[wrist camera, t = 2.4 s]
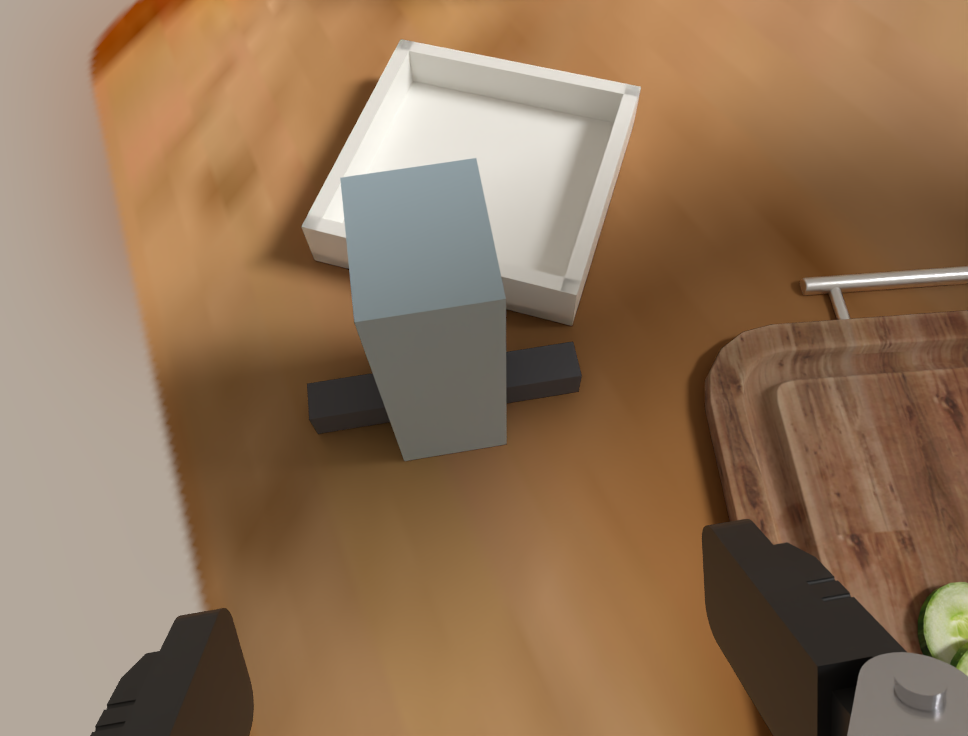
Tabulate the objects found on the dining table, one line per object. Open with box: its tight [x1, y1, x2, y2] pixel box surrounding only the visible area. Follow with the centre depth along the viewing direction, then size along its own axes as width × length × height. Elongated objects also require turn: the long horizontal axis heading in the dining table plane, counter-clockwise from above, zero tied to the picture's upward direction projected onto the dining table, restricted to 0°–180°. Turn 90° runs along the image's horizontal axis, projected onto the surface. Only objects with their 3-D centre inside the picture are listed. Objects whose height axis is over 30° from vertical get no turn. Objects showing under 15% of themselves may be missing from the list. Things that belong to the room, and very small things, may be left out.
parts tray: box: [301, 39, 641, 326], centre depth 35 cm, size 12×12×2 cm
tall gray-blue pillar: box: [340, 158, 507, 461], centre depth 26 cm, size 4×5×11 cm
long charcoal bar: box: [307, 342, 582, 434], centre depth 31 cm, size 11×2×2 cm, turn 99°
